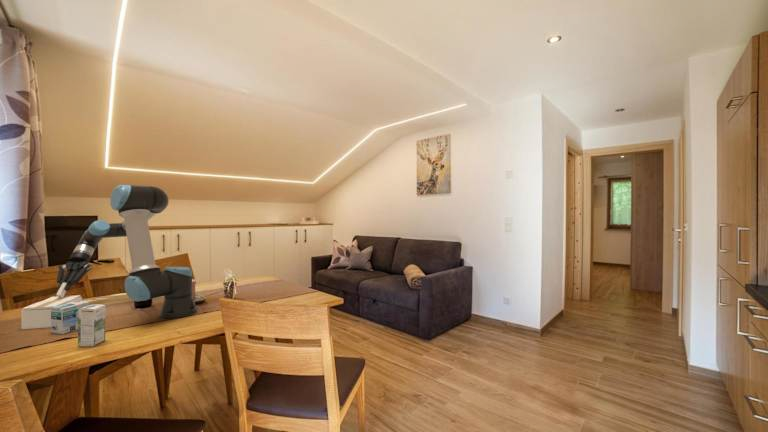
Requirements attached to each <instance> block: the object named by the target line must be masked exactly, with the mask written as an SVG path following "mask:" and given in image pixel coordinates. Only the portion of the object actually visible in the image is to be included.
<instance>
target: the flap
mask: <svg viewBox="0 0 768 432" xmlns="http://www.w3.org/2000/svg"><path fill="white" fill-rule="evenodd" d="M79 297H82V296H81V294H78V295H77V294H76V295H72V294H71V295H64V296H63V298H59V297H58V296H57V295H55V296H53V295H52V296H50V297H49V298H46V299H44V300H41V301H40V302H49V301H68V303H69V302H71V301H73V300H75V299H77V298H79Z"/></svg>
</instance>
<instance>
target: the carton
mask: <svg viewBox="0 0 768 432" xmlns="http://www.w3.org/2000/svg"><path fill="white" fill-rule="evenodd" d="M75 301H83V297H82V296H81V297H79V298H77V299H75V300H73V301H71V302H75ZM71 302H69V303H71ZM67 303H68V301H49V302H41V301H37V302H34V303H32V304H30V305H27V306H25V307H22V309H21V311H20V313H21V314H20V315H21V318H20V319H21V321H20V322H21V323H20V324H21V330H32V329H46V328H51V307H55V306H59V305H63V304H67Z"/></svg>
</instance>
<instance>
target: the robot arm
mask: <svg viewBox="0 0 768 432" xmlns="http://www.w3.org/2000/svg"><path fill="white" fill-rule="evenodd" d="M168 205H169V196H168V194H167V193H166V192H165V191H164V190H163V189H161V188H159V187H158V186H151V185H150V186H149V185H135V184H134V185H132V184H120V185H117V186H115V188H113V190H112V192H111V195H110V207H111V209H112V210H114V211H116V212H118V215H119V216H120V217H121V218H123V221H122V222H115V223H111V222H110V223H109V222H107V221H106V220H101V219H98V220H95V221H93V222H92V223H91V224H90V225H89V226H88V228H87V229H86V230H85V232H83V234H82V235H81V238H80V240H79V241H78V243H77V244H76V246H75V248H74V249H73V251H72V254H71V255H70V256H69V259H68V262H66V263H65V264H64V265H58V273H57V278H56V282H57V284H58V287H57V290H58V291H57V292H56V295H55V296H58V297H59V298H63V296H66V292H68V291H69V290H70V288H71V287H72V285H74V284H75V285H76V284H78V283H79V282H80V281H81V280H82V279H83V277H84V276H85V275H86V274H87V273H88V272H89V271H91V270H92V267H91V265H90V264H89V262H90V261H91V258H92V256H93V254H94V252H95V250H96V249H97V246H98V245H99V243H100V242H101V241H102V240H103V239H104V238H105V239H106V238H107V239H108V238H121V237H124V238H125V237H126V240H127V244H128V249H129V250H128V251H129V256H130V263H131V268H132V269H131V270H130V271H129V272H128V276H127V277H126V278H125V279H124V284H123V285H124V290H125V293H126V295H127V296H128V297H129V299H131V300H132V301H134V302H141V301H142V302H143V301H148V300H152V299H156V298H161V297H164V300H163V303H162V305H161V308H160V311H159V317H160V318H162V319H179V318H183V317H189V316H191V315H193V314H195V313H196V312H197V306H196V303H195V301H194V298H193V277H194V276H193V271H192V268H190V267H188V266H187V267H186V266H165V267H164V268H163V270H161V267H160V266H159V265H157V264H156V260H155V255H154V249H153V244H152V238H151V232H150V226H149V220H151V218H153V217H154V216H155V215H157V214H161V213H162V212H163V211H165V209H167V207H168ZM65 271H66V272H65Z"/></svg>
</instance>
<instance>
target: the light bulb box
mask: <svg viewBox="0 0 768 432" xmlns="http://www.w3.org/2000/svg"><path fill="white" fill-rule="evenodd" d="M89 305H91V302H90V301H85V300H82V301H75V302H71V303H67V304H63V305H59V306H55V307H51V327H50V332H51V333H53V334H60V335H64V334H68V333H71V332H74V331H77V330H78V310H79V309H81V308H83V307H86V306H89Z"/></svg>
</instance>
